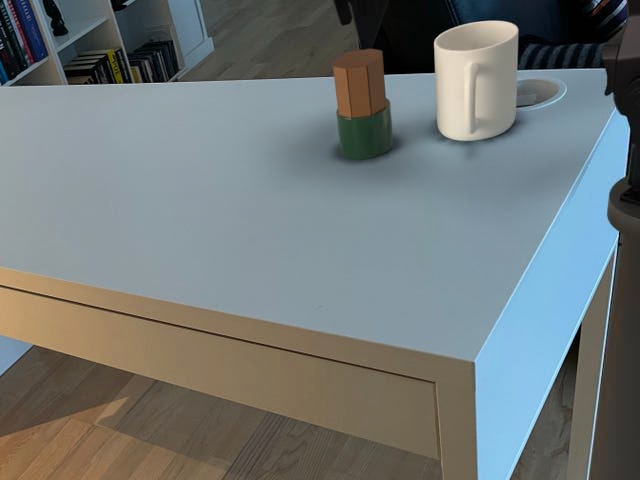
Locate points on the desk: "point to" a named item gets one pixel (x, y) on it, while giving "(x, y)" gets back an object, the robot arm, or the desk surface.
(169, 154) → the desk surface
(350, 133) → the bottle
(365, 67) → the octagonal wooden prism
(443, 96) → the cup
